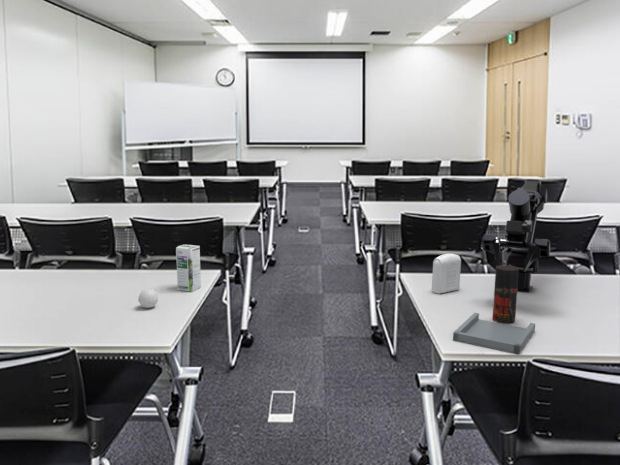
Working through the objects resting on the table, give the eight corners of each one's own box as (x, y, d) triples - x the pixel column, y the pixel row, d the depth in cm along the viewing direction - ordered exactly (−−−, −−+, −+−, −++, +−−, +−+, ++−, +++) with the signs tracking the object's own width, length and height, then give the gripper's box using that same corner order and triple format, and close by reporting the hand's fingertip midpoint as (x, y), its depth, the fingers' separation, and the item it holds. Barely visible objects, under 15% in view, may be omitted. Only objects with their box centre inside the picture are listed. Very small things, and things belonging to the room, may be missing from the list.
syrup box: (176, 290, 181) (174, 247, 178) (187, 285, 186) (185, 243, 183) (191, 292, 179) (189, 248, 176) (201, 287, 184) (200, 244, 181)
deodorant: (489, 316, 156) (492, 265, 153) (509, 316, 157) (513, 264, 154) (497, 324, 150) (501, 270, 148) (518, 323, 151) (522, 270, 148)
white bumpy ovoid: (162, 305, 165) (161, 287, 164) (151, 311, 160) (150, 293, 159) (141, 303, 168) (139, 285, 167) (129, 308, 163) (128, 290, 162)
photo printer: (451, 286, 185) (453, 250, 183) (461, 289, 182) (463, 253, 179) (429, 291, 180) (431, 254, 177) (439, 295, 176) (441, 257, 174)
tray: (474, 319, 154) (474, 312, 154) (534, 330, 145) (535, 323, 145) (452, 339, 139) (453, 332, 139) (518, 354, 131) (519, 346, 130)
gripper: (484, 207, 164) (474, 250, 157) (552, 211, 156) (545, 258, 148) (488, 228, 173) (478, 271, 165) (552, 234, 164) (545, 279, 157)
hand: (510, 269), depth 159 cm, fingers open, 7 cm apart
